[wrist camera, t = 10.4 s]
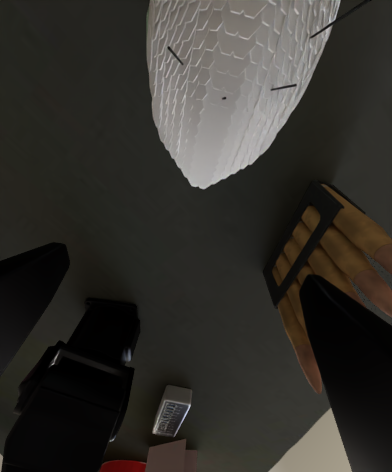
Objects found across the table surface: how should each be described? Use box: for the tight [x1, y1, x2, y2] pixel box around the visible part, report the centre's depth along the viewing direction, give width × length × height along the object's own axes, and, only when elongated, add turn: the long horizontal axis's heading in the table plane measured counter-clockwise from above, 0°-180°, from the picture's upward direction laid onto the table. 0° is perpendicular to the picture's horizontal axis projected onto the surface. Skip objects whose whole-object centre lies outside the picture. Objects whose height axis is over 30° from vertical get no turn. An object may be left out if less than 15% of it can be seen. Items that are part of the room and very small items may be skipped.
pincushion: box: [147, 0, 371, 189], centre depth 7 cm, size 12×6×6 cm, turn 167°
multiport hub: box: [152, 385, 192, 437], centre depth 41 cm, size 4×14×2 cm, turn 166°
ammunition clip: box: [263, 180, 392, 394], centre depth 17 cm, size 11×2×12 cm, turn 166°
